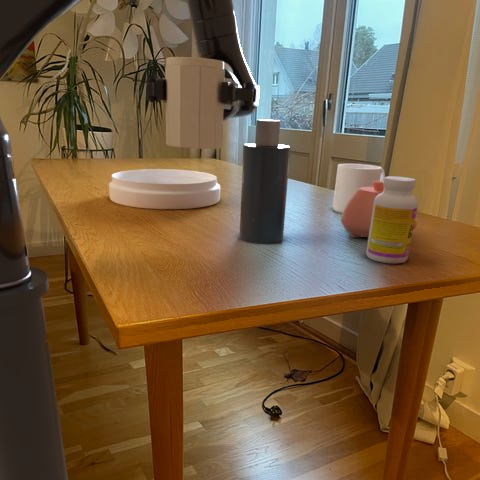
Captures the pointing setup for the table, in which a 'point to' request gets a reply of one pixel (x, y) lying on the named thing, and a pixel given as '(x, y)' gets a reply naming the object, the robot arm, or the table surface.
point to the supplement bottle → (392, 221)
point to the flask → (264, 185)
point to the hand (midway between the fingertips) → (192, 91)
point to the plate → (164, 189)
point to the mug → (353, 182)
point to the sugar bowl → (362, 210)
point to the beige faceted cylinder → (194, 102)
